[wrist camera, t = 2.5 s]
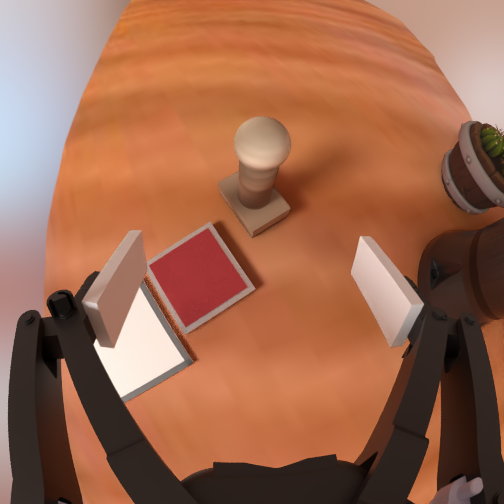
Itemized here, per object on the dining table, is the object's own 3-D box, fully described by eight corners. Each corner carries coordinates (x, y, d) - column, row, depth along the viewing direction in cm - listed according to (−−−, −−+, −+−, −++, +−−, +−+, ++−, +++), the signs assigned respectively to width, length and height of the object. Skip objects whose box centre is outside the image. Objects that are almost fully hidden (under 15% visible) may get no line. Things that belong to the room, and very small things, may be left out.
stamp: (286, 217, 33) (320, 145, 19) (251, 239, 32) (265, 174, 18) (253, 174, 34) (265, 89, 20) (219, 193, 33) (212, 110, 19)
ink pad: (254, 290, 31) (255, 288, 29) (186, 334, 29) (184, 335, 27) (210, 225, 32) (209, 220, 31) (145, 266, 30) (141, 263, 29)
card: (194, 362, 28) (193, 362, 28) (120, 404, 26) (118, 405, 26) (142, 278, 30) (141, 277, 30) (75, 324, 28) (73, 324, 28)
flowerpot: (418, 145, 38) (483, 70, 19) (471, 158, 39) (530, 104, 20) (443, 225, 35) (537, 166, 15) (493, 227, 36) (569, 184, 17)
